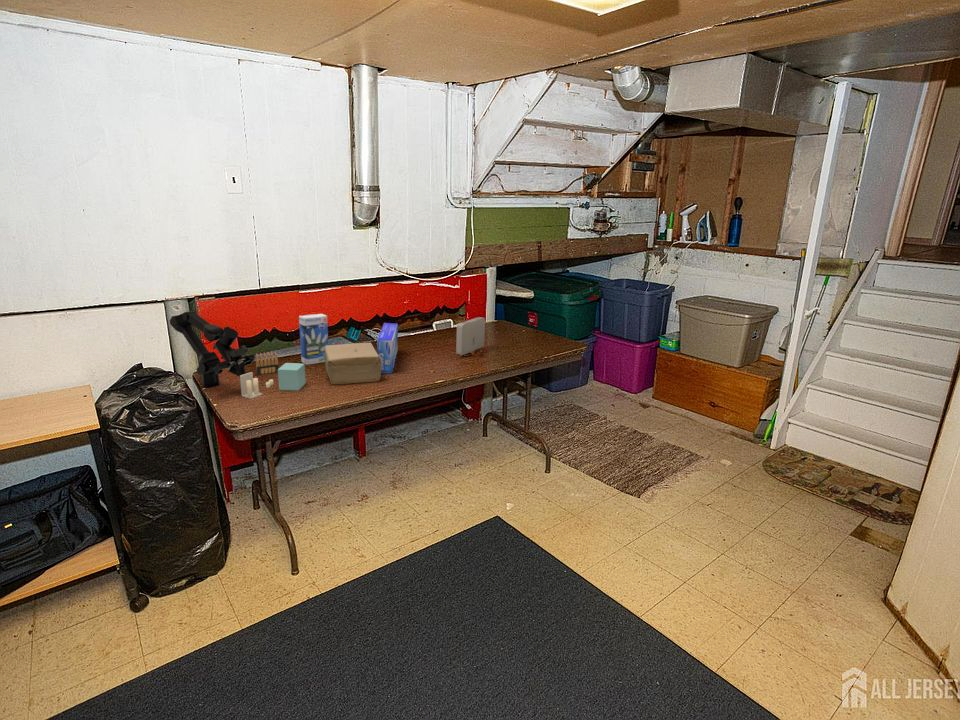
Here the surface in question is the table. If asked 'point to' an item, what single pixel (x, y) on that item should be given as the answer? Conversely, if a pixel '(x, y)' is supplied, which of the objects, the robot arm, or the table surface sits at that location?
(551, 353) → the table surface
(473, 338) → the network device
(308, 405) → the table surface
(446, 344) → the table surface
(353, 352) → the paper package
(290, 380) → the housing
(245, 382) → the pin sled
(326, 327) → the string lights box
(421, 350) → the table surface
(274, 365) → the ammunition clip
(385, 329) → the toner cartridge box
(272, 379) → the board
